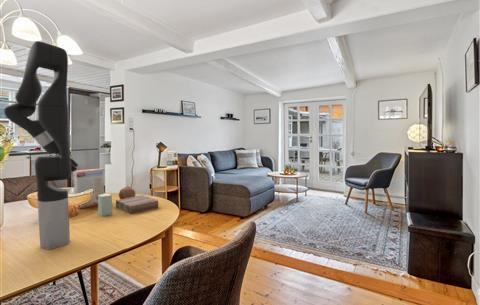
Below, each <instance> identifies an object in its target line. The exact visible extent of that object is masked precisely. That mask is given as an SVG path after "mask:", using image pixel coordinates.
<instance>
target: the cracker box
mask: <svg viewBox="0 0 480 305" xmlns="http://www.w3.org/2000/svg"><path fill="white" fill-rule="evenodd" d="M104 183H105V182H104V169H103V168H91V169H88V168H87V169H80V170H75V171H74V172H73V186H74V187H73V189H74V195H75V194H77V193H81V192H84V191H86V190H89V189H93V190H94V193H93V195H92V197H91V199H90V200H89V201H88V202H86V203H84V204H81V205H78V206H77V208H76V209H79V210H80V209H85V208H90V207H94V206H98V195H101V194H105V187H104V186H105V184H104Z"/></svg>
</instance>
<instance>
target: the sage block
mask: <svg viewBox="0 0 480 305" xmlns="http://www.w3.org/2000/svg"><path fill="white" fill-rule="evenodd" d="M112 196H113V195H112V194H110V193H104V194H101V195H98V205H97V208H98V209H97V210H98V211H97V212H98V215H99V216H101V217H105V216H109V215H113V197H112Z"/></svg>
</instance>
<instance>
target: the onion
mask: <svg viewBox="0 0 480 305" xmlns="http://www.w3.org/2000/svg"><path fill="white" fill-rule="evenodd" d="M131 197H136V191H135V189H133V188H132V187H130V186H128V185H127V186H125V187H123V188H121V189H120V190H119V192H118V198H119V200H120V199H125V198H131Z"/></svg>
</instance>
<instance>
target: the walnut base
mask: <svg viewBox="0 0 480 305" xmlns="http://www.w3.org/2000/svg"><path fill="white" fill-rule="evenodd" d="M115 208H117V209H119V210H121V211H124V212H126V213H127V214H130V215H131V213H132V214H136V213H140V212H144V211H148V210H153V209H157V208H159V200H158V199H155V198H153V197H152V198H151V197H149V196H147V195H143V194H142V195H137V196H136V195H135V197H131V198H125V199H120V198H119V199H116V200H115Z"/></svg>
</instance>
